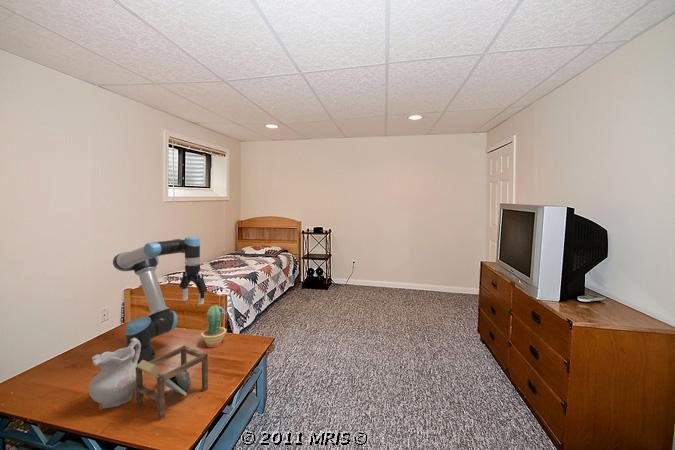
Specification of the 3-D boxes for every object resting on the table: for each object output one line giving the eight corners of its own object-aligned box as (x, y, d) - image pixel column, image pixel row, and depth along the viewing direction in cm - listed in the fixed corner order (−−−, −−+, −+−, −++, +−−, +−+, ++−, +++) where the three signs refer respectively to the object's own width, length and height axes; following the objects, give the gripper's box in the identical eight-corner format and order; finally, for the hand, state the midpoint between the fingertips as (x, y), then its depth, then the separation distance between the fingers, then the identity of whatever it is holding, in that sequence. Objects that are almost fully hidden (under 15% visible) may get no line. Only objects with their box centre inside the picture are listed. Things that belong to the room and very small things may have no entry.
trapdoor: (133, 364, 121) (139, 358, 123) (165, 388, 134) (170, 382, 136) (152, 373, 115) (158, 366, 117) (184, 398, 128) (188, 391, 130)
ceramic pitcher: (116, 386, 140) (110, 337, 138) (157, 381, 141) (151, 333, 140) (79, 418, 118) (72, 361, 117) (128, 413, 120) (121, 356, 118)
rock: (170, 379, 126) (180, 365, 131) (158, 376, 130) (169, 362, 135) (189, 393, 133) (198, 379, 138) (178, 389, 137) (187, 376, 142)
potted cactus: (220, 350, 174) (220, 310, 173) (196, 349, 175) (195, 309, 173) (230, 338, 190) (230, 302, 188) (207, 338, 190) (207, 301, 189)
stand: (136, 405, 125) (135, 367, 124) (184, 378, 145) (184, 345, 144) (160, 420, 117) (159, 379, 116) (207, 389, 137) (207, 354, 136)
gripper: (172, 263, 160) (172, 300, 161) (201, 268, 149) (202, 307, 150) (184, 261, 167) (185, 296, 168) (213, 265, 155) (214, 303, 156)
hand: (193, 302), depth 159 cm, fingers open, 13 cm apart
